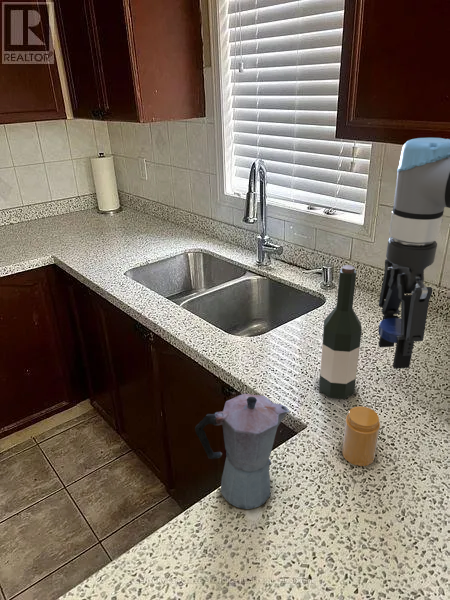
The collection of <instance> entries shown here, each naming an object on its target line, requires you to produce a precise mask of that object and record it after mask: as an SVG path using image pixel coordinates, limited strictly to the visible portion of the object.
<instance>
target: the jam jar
mask: <svg viewBox="0 0 450 600" xmlns="http://www.w3.org/2000/svg"><path fill="white" fill-rule="evenodd" d="M344 423H345V424H344V430H343V431H344V432H343V440H342V448H341V454H342V456H343V458H344V459H345V460H346V461H347V462H348V463H349V464H352V465H354V466H358V467H366V466H370V465H371V464H373V463H374V461H375V459H376V454H377V453H376V452H377V446H378V441H379V434H380V429H381V423H380V417H379V415H378V412H376V411H375V410H374V409H372V408H370V407H366V406H361V405H359V406H354V407H352V408H350V409H349V410H348V413H347V415H346V417H345V421H344Z"/></svg>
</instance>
